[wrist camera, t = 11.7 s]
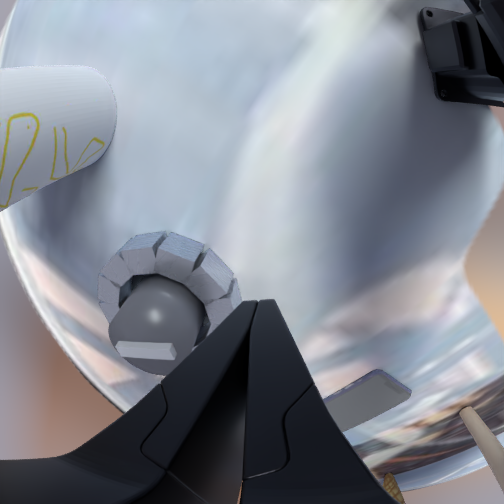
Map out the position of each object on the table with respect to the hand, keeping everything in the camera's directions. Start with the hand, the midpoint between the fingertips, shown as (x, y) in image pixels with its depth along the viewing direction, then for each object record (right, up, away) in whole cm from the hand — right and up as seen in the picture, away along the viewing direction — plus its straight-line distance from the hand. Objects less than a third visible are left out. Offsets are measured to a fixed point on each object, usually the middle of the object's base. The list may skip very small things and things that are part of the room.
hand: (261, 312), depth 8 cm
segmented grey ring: (-7, -2, +16) cm, 18 cm away
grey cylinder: (-13, +12, +10) cm, 21 cm away
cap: (-7, -2, +16) cm, 18 cm away
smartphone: (+10, -16, +22) cm, 29 cm away
